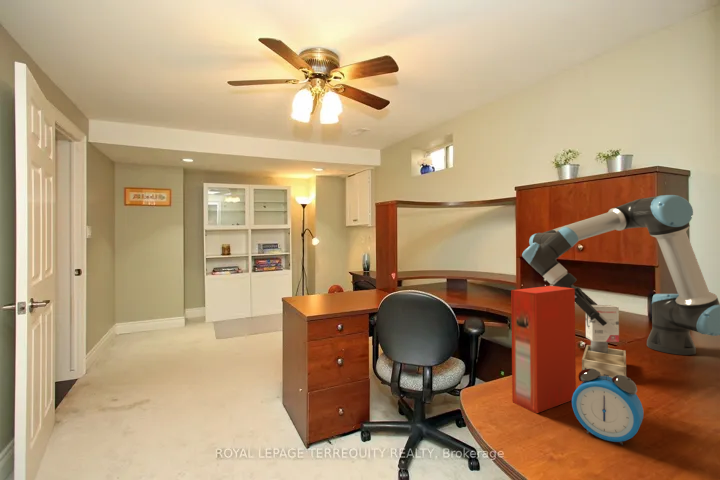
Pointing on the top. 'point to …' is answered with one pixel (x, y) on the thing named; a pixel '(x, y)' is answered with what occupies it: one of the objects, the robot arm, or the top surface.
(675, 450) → the top surface
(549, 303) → the file binder
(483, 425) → the top surface
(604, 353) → the desk organizer
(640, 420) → the alarm clock
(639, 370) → the top surface
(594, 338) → the ink box
